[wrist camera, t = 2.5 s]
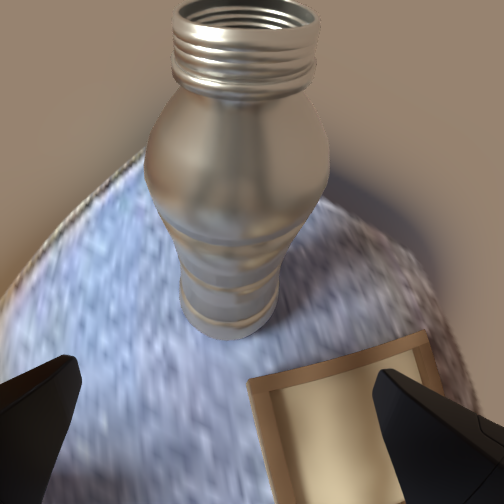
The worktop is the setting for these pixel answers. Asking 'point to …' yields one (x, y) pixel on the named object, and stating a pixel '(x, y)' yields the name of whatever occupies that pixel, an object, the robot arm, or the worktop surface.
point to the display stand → (334, 425)
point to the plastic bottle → (237, 155)
